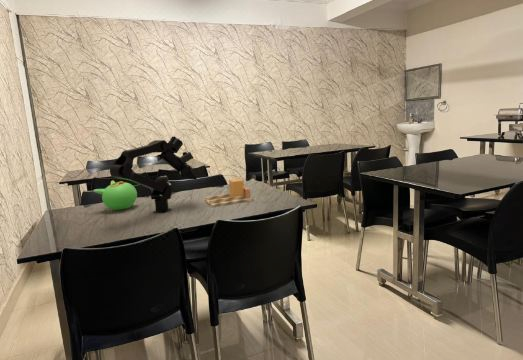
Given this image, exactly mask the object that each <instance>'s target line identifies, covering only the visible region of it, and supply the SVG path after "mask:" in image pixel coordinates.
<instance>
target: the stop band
mask: <svg viewBox="0 0 523 360" xmlns="http://www.w3.org/2000/svg"><path fill="white" fill-rule="evenodd" d="M244 195H246V199H250V195H251V189H250V188H249V187H246V186H245V185H244Z"/></svg>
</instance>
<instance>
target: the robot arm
mask: <svg viewBox="0 0 523 360" xmlns="http://www.w3.org/2000/svg"><path fill="white" fill-rule="evenodd" d="M183 145H184V143H183V141H182V140H181V139H180V138H177V137H176V136H175V135H174V136H171V137H170V140H169V141H168V142H167V141H166V140H164V139H163V140H160V139H158V140H157V139H156V140H152V141H150V142H149V143H148V144H146V145H141V146H138V147H134V148H131V149H125V150H123V151H122V152H121V154H120V156H119V157H118V158H116V159H115V161H114V162H113V164H112V166H111V167H110V169H109V174H110V176H111V177H112V178H115V179H120V180H121V179H122V180H127V181H130V182H132V183H135V184H137V185H139V186H142V187H145V188H147V189H150V191H151V193H150V197H149V198H150V199H151V200H154V205H155V210H154V211H152V212H153V213H156V214H157V213H158V214H162V213H163V214H165V213H167V212H169V211H172V208H169V200H170V199H171V198H172V196H171V193H172V194H173V188H172V184H171V183H170V182H168V183H167V182H165V181H163V180H157V179H154V180H153V179H150V178H148V177H146V176H144V175H141V174H138V173H136V172H135V171H134V170H133V167H134V159H136V158H139V157H143V156H146V155H150V154H153V153H154V154H155V153H159V154H157V155H156V158H157V162H159V161H161V160H162V161H164V162H165V163H167V164H168V165H169V166H170V167H171V168H173V169H174V170H175V171H176V172H177V173H179V175H180V176H181V177H182V178H185V177H186V178H188V179H191V180H197V176H196V175H195V174H194V173H193V172H192V168H193V167H192V166H191V165H189V164H187V162H189V161H190V160H193V159H194V158H195V157H194V156H193V154H192V153H191V152H190V151H188V152H187V151H183V152H182V155H181V156H178V155H177V154H178V152H179V151H180V150H181V148H182V147H183ZM170 184H171V185H170ZM160 195H162V196H160Z"/></svg>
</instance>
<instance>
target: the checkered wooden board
mask: <svg viewBox="0 0 523 360" xmlns="http://www.w3.org/2000/svg"><path fill="white" fill-rule="evenodd" d="M203 200H204V203H206V204H207V205H208V206H210V207H211V208H216V207H221V206H228V205H234V204H241V203H246V202H252V201H254V200H253V198H252V196H251V194H250V199H246V195H242V196H235V197H230V193H226V194H225V193H224V194H219V195H212V196H206V197H204V199H203Z"/></svg>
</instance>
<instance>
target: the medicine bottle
mask: <svg viewBox="0 0 523 360" xmlns="http://www.w3.org/2000/svg"><path fill="white" fill-rule="evenodd" d="M156 180H163V181H165V182H167V183H169V177H168V176H167V175H163V176H162V175H161V176H158V177H156ZM169 184H170V185H171V186H172V184H171V183H169ZM160 196H162V195H160ZM172 196H173V192H172V193H171V197H172Z"/></svg>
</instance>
